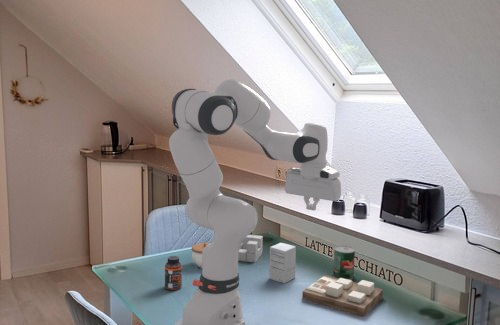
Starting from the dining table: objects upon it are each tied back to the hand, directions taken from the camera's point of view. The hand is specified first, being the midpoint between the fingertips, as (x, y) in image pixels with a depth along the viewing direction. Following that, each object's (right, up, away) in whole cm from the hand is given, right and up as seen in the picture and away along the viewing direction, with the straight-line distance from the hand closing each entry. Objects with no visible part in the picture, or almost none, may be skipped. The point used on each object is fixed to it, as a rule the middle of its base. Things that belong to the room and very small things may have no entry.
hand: (311, 209), depth 170 cm
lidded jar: (-39, -25, +28) cm, 55 cm away
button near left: (+7, -28, -4) cm, 30 cm away
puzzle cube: (-23, -24, +39) cm, 52 cm away
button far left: (+12, -29, +3) cm, 31 cm away
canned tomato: (+15, -28, +19) cm, 37 cm away
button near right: (+14, -30, -8) cm, 34 cm away
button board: (+11, -31, -1) cm, 32 cm away
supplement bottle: (-49, -29, +5) cm, 57 cm away
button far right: (+18, -28, -2) cm, 34 cm away
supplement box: (-9, -28, +16) cm, 33 cm away
